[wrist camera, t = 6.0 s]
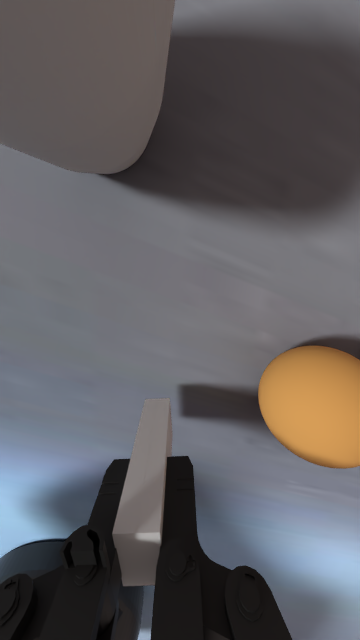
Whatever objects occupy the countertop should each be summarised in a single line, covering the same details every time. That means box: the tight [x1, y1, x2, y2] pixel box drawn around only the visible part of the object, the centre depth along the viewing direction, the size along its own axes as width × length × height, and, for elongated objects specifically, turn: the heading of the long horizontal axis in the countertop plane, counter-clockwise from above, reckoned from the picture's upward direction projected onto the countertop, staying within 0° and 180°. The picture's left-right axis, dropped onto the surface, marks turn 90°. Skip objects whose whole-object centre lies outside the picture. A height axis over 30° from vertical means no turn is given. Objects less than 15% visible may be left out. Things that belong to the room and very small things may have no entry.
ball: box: [258, 346, 360, 468], centre depth 12 cm, size 6×6×6 cm
